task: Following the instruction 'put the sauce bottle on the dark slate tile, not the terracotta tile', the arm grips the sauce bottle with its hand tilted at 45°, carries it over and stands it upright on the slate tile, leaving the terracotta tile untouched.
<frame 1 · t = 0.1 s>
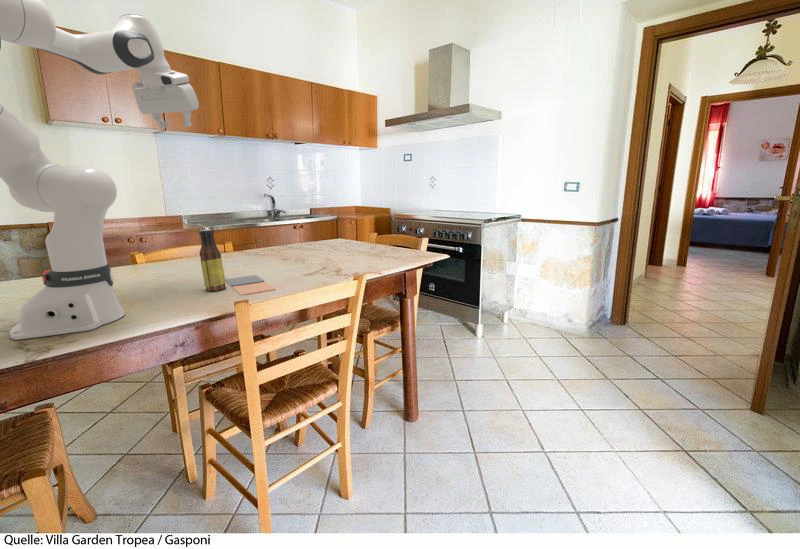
hand: (176, 127, 125), 52 cm above the table, tool tilted 20°, fingers open, 8 cm apart
terracotta tile: (254, 290, 129), on the table
sauce bottle: (215, 289, 129), on the table
slate tile: (244, 282, 140), on the table
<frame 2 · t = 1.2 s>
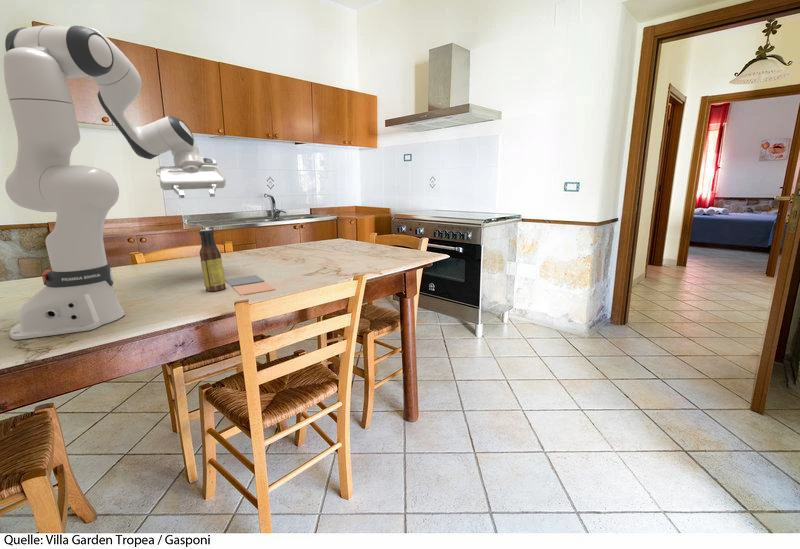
hand: (197, 196, 132), 30 cm above the table, tool tilted 45°, fingers open, 8 cm apart
nothing on the table moved.
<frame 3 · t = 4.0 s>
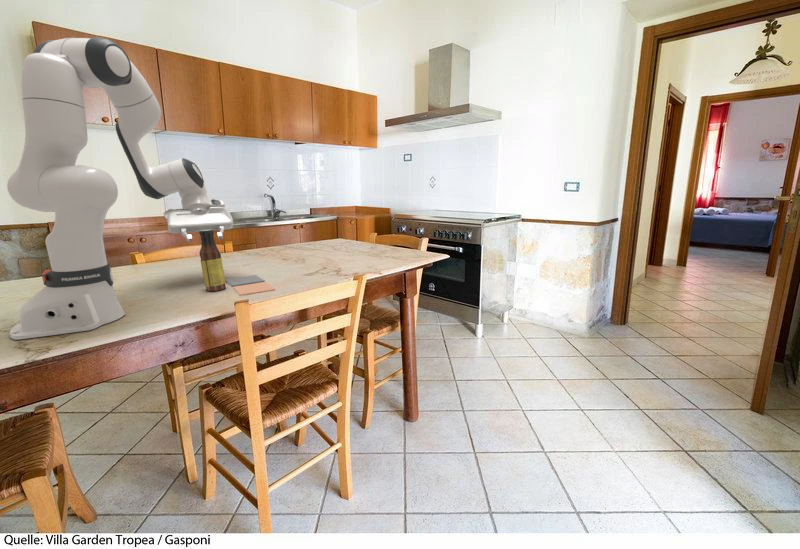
hand: (205, 239, 131), 16 cm above the table, tool tilted 45°, fingers open, 8 cm apart
nothing on the table moved.
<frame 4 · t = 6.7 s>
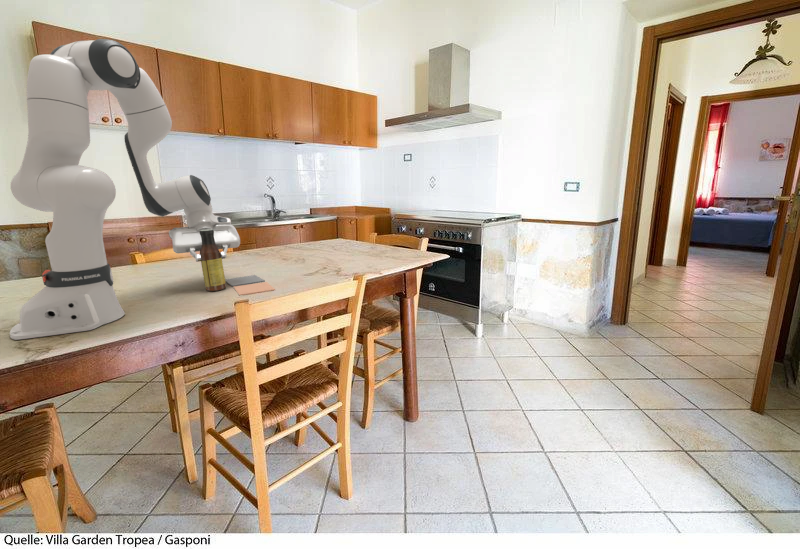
hand: (211, 259, 126), 10 cm above the table, tool tilted 45°, fingers closed on sauce bottle, 6 cm apart
sauce bottle: (215, 289, 129), on the table, touching gripper
everything else where it was.
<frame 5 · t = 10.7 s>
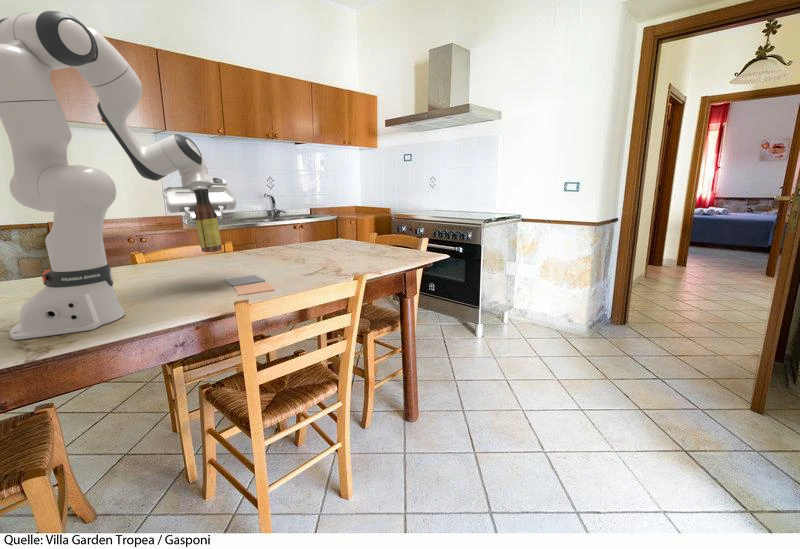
hand: (206, 219, 123), 23 cm above the table, tool tilted 45°, fingers closed on sauce bottle, 6 cm apart
sauce bottle: (211, 251, 126), point 13 cm above the table, touching gripper
everything else where it was.
when the fingers open (13 cm above the table, at t = 14.9 s): sauce bottle drops 2 cm, resting on slate tile.
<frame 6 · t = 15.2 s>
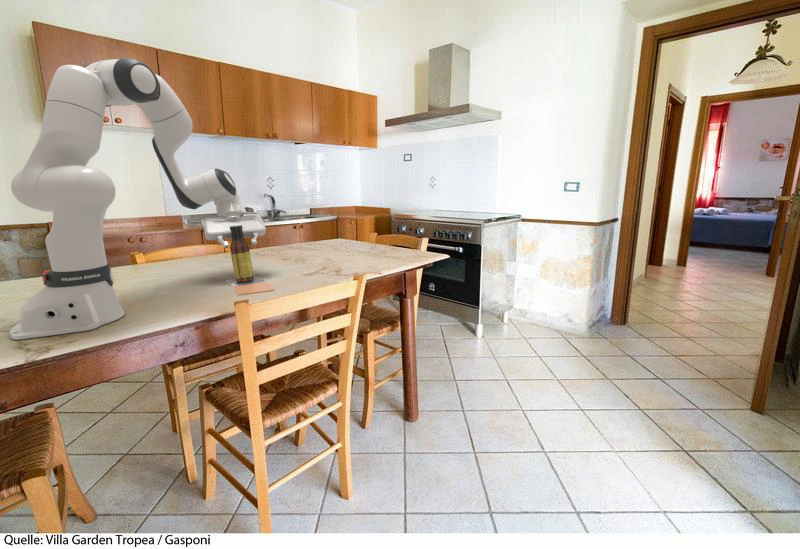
hand: (240, 245, 136), 13 cm above the table, tool tilted 45°, fingers open, 8 cm apart
sauce bottle: (244, 281, 140), resting on slate tile
slate tile: (244, 283, 140), on the table, touching sauce bottle
everything else where it was.
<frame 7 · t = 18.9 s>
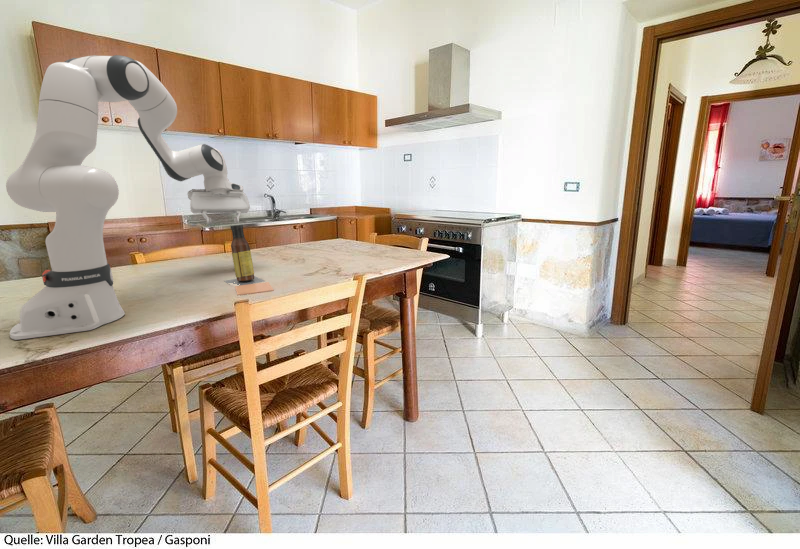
hand: (223, 222, 144), 20 cm above the table, tool tilted 30°, fingers open, 8 cm apart
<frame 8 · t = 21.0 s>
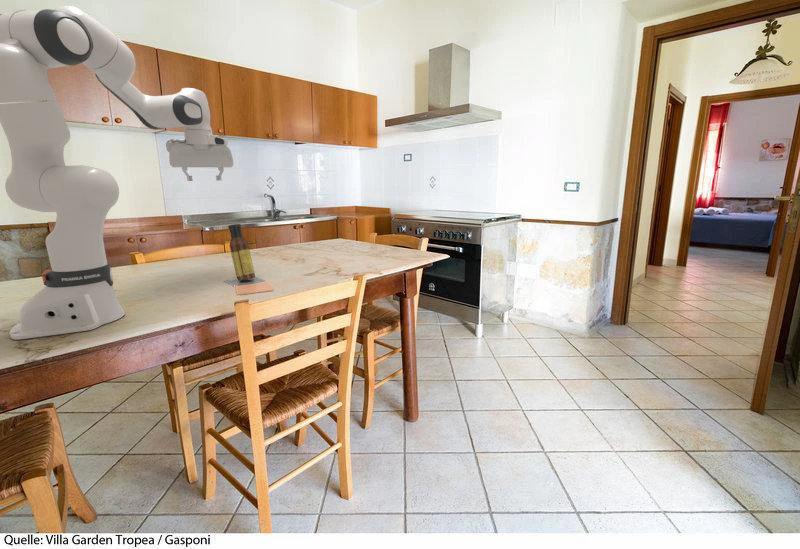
hand: (204, 180, 139), 35 cm above the table, tool pointing down, fingers open, 8 cm apart
sauce bottle: (246, 280, 140), on the table
slate tile: (244, 283, 140), on the table
everything else where it was.
at the end: sauce bottle inside the target area on the slate tile (0.5 cm from its centre), point 1.1 cm above the slate tile's base; sauce bottle tilted 6°; terracotta tile moved 0.6 cm from its start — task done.
